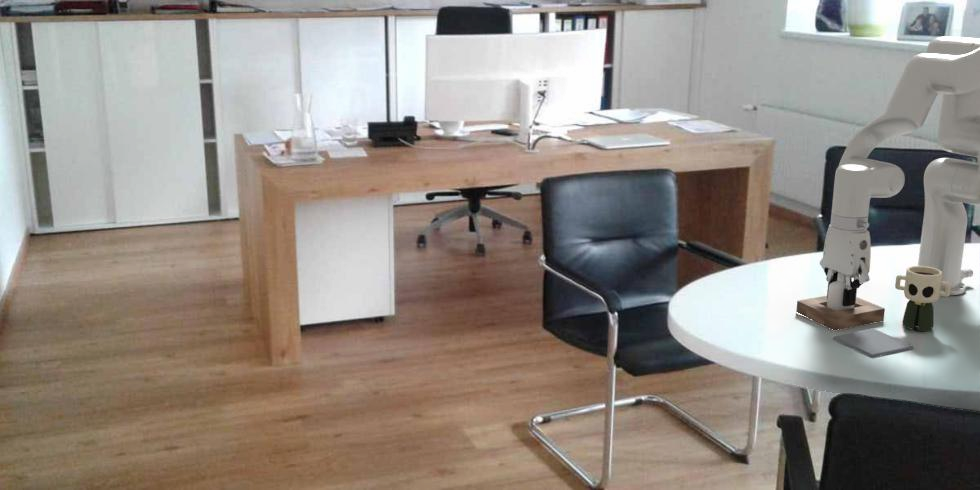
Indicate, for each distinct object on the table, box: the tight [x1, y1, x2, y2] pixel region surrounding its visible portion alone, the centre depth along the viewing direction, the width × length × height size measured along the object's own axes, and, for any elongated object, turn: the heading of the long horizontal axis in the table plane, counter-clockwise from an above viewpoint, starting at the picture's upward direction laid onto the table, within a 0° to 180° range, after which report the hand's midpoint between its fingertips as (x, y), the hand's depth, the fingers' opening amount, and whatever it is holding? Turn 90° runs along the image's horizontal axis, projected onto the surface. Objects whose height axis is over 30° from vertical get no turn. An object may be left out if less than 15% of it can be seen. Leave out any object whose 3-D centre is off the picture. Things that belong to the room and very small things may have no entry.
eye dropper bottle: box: [827, 272, 854, 311], centre depth 223 cm, size 4×6×12 cm
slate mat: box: [832, 328, 914, 358], centre depth 210 cm, size 11×11×1 cm
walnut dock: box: [796, 295, 886, 331], centre depth 224 cm, size 14×12×3 cm
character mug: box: [894, 265, 951, 331], centre depth 217 cm, size 11×7×13 cm, turn 59°
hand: (840, 301), depth 224 cm, fingers closed on eye dropper bottle, 4 cm apart
